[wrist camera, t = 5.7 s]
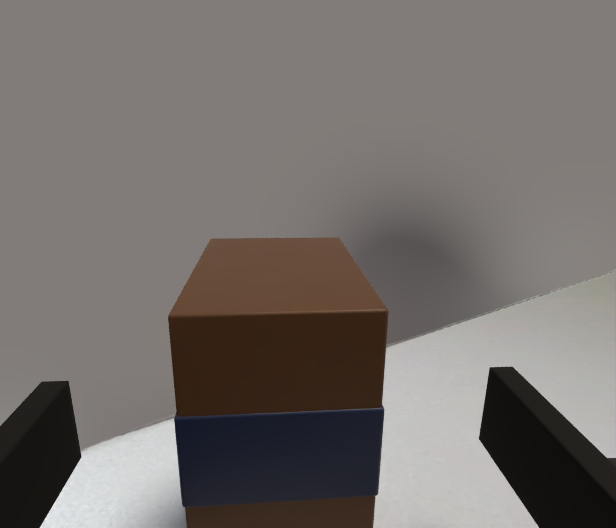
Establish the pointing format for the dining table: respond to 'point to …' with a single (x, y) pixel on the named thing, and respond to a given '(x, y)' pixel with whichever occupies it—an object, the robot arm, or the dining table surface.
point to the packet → (278, 386)
